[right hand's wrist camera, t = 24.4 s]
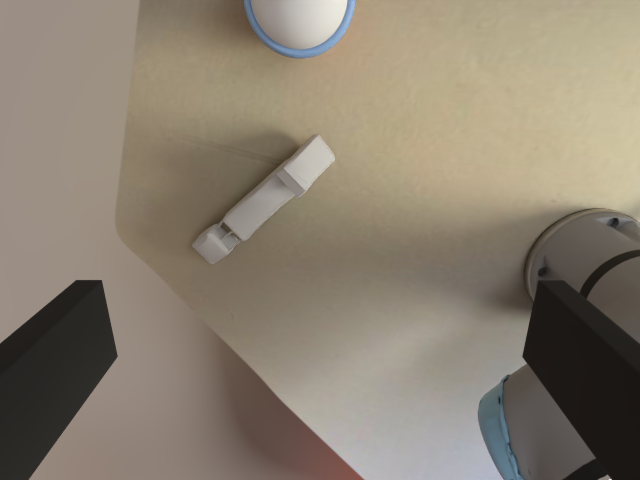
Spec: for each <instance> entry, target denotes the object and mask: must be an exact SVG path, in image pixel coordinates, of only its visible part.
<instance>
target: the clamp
mask: <svg viewBox="0 0 640 480" xmlns="http://www.w3.org/2000/svg"><path fill="white" fill-rule="evenodd" d="M334 159H335V157H334V154H333V152H332V151H331V150H330V148H329V147H328V146H327V145H326V143H325V142H324V141H323V139H322V138H321V137H320V136H319V134H315V135H313V136H312V137H311V138H310V139H309V140H307V141H306V142H305V143H304V144H303V145H302V146H301V147H300V148H299V149H298V150H297V151H296V152H295V153H294V154H293V155H292V156H291V158H289V159H287V160H285V161H284V162H283V163H282V164H281V165H280V166H278V167H277V168H276V169H275V170H274V171H273V172H272V173H271V174H270V175H269V176H267V177H266V178H265V179H264V180H263V181H262V182H261V183H260V184H258V185H257V186H256V187H255V188H254V189H253V190H252V191H251V192H250V193H248V194H247V195H246V196H245V197H244V198H243V199H242V200H241V201H239V202H238V203H237V204H236V205H235V206H234V207H233V208H232V209H230V210H229V211H228V212H227V213H226V215H225V217H224V218H223V220H222V221H221V222H220V223H219V224H214V225H212V226H211V227H209V228H207V229H206V230H205V231H204V232H202V233H201V234H200V235H199V236H198V238H197V239H196V240H195V242H194V243H193V244H192V247H193V248H194V249H195V250H196V251H197V252H198V253H199V254H200V255H201V256H202V257H203V258H204V259H206V260H207V261H208V262H209V263H210V264H211V265H212V264H214V263H216V262H218V261H219V260H221V259H222V258H224V257H225V256H227V255H228V254H229V253H230V252H231V251H232V249H233V248H234V247H235V246H236V245H237V244H238V243H240V242H241V241H245V240H247V239H248V238H249V237H250V236H251V235H252V234H253V233H254V232H255V231H256V230H257V229H258V228H259V227H260V226H261V225H262V224H263V223H264V222H265V221H266V220H267V219H268V218H269V217H270V216H271V215H273V214H274V213H275V212H276V211H277V210H278V209H279V208H280V207H282V206H283V205H284V204H285V203H286V202H288V201H289V200H290V199H291V198H293V197H294V196H296V197H297V198H299V197H300V196H301V195H302V194H304V193H305V192H306V191H307V190H308V188H309V187H310V186H311V185H312V184H313V183H314V181H315V180H316V179H317V178H318V177H319V176H320V175H321V174H322V173H323V172H324V171H325V170H326V169H327V168H328V167H329V166H330V165H331V164H332V163H333V161H334ZM223 222H224V223H225V224H226V225H227V226H228V227H229V228H230V229H231V231H230V232H229V233H228V232H226V231H225V230H224V229H222V228H221V227H220V226H221V225H222V223H223ZM233 232H234V233H235V234H236V235H237V236H238V237H239V238H238V239H237V238H236V237H234V236H232V235H231V233H233ZM239 239H241V240H239ZM238 240H239V241H238Z"/></svg>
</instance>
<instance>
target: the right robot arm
mask: <svg viewBox="0 0 640 480" xmlns="http://www.w3.org/2000/svg"><path fill="white" fill-rule="evenodd" d="M525 284H526V288H527V291H528V293H529V295H530V297H531V298H532V300H533V301H534V303H533V308H532V313H531V318H530V322H529V327H528V332H527V337H526V342H525V346H524V351H523V356H522V357H523V358H524V360H525V361H526V362H527V364H526V365H525V366H523V367H522V368H520V369H519V370H517V371H516V372H514V373H513V374H511V375H507V376H505V377H504V378H503V379H502V380H501V382H500V383H499V384H498V385H497V386H496V387H494V388H493V389H492V390H490V391H489V392H488V393H486V394H485V395H484V396H483V397H482V399H481V400H480V403H479V408H478V421H479V426H480V430H481V433H482V436H483V439H484V442H485V444H486V447H487V449H488V451H489V453H490V456H491V458H492V460H493V462H494V464H495V466H496V468H497V469H498V471H499V473H500V475H501V476H502V478H503V479H504V480H640V223H639V222H638V221H637V220H635V219H633V218H632V217H629V216H627V215H625V214H623V213H620V212H617V211H614V210H609V209H589V210H584V211H580V212H577V213H574V214H571V215H569V216H567V217H565V218H563V219H561V220H559V221H558V222H556V223H555V224H553V225H552V226H551V227H550V228H548V229H547V230H546V231H545V232H544V233H543V234H542V235H541V236H540V238H539V239H538V240H537V241H536V243H535V244H534V246H533V248H532V249H531V251H530V253H529V256H528V258H527V262H526V266H525ZM117 357H118V356H117V351H116V346H115V342H114V337H113V332H112V327H111V323H110V318H109V313H108V308H107V303H106V298H105V294H104V289H103V284H102V280H76V281H75V282H74V283H72V284H71V285H70V286H69V287H68V288H66V289H65V290H64V291H63V292H62V293H60V294H59V295H58V296H57V297H56V298H54V299H53V300H52V301H51V302H50V303H48V304H47V305H46V306H45V307H44V308H42V309H41V310H40V311H39V312H38V313H36V314H35V315H34V316H33V317H32V318H30V319H29V320H28V321H27V322H26V323H24V324H23V325H22V326H21V327H20V328H18V329H17V330H16V331H15V332H14V333H12V334H11V335H10V336H9V337H8V338H6V339H5V340H4V341H3V342H2V343H0V480H29V478H30V477H31V476H32V474H33V473H34V471H35V470H36V469H37V467H38V466H39V464H40V463H41V462H42V460H43V459H44V458H45V456H46V455H47V453H48V452H49V451H50V449H51V448H52V447H53V445H54V444H55V442H56V441H57V440H58V438H59V437H60V435H61V434H62V433H63V431H64V430H65V429H66V427H67V426H68V424H69V423H70V422H71V420H72V419H73V418H74V416H75V415H76V413H77V412H78V411H79V409H80V408H81V406H82V405H83V404H84V402H85V401H86V400H87V398H88V397H89V395H90V394H91V393H92V391H93V390H94V389H95V387H96V386H97V384H98V383H99V382H100V380H101V379H102V377H103V376H104V375H105V373H106V372H107V371H108V369H109V368H110V366H111V365H112V364H113V362H114V361H115V360H116V358H117Z"/></svg>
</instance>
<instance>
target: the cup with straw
mask: <svg viewBox="0 0 640 480" xmlns="http://www.w3.org/2000/svg"><path fill="white" fill-rule="evenodd" d="M243 1H244V8H245V12H246V15H247V18H248V21H249V23H250V25H251V27H252V29H253V30H254V32H255V34H256V35H257V36H258V38H259V39H260V40H261V41H262V42H263V43H264V44H265V45H266V46H267V47H269V48H270V49H272V50H273V51H275V52H277V53H279V54H281V55H284V56H287V57H291V58H310V57H314V56H317V55H319V54H322V53H324V52H325V51H327V50H329V49H330V48H331V47H333V46H334V45H335V44H336V43H337V42H338V41H339V40H340V39H341V37H342V36H343V35H344V33H345V31H346V30H347V28H348V26H349V24H350V21H351V18H352V15H353V11H354V6H355V0H243Z"/></svg>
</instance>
